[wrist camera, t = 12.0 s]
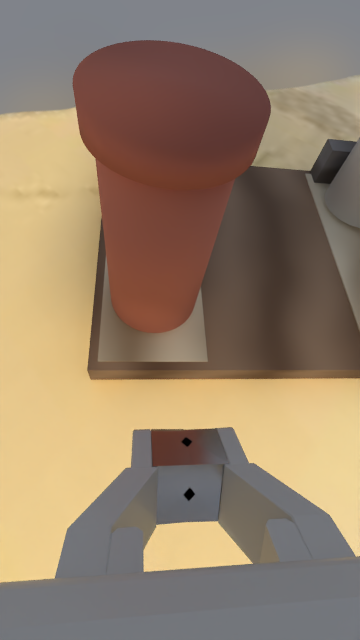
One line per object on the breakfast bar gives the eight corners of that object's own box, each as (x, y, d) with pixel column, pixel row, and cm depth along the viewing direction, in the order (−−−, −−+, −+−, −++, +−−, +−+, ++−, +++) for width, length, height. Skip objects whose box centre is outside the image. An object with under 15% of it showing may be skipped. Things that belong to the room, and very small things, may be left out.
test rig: (90, 379, 18) (79, 347, 15) (108, 170, 27) (104, 114, 23) (447, 377, 22) (517, 350, 18) (362, 190, 30) (396, 144, 26)
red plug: (100, 339, 18) (59, 139, 8) (106, 255, 20) (83, 30, 11) (205, 340, 18) (288, 159, 9) (198, 258, 21) (254, 53, 11)
